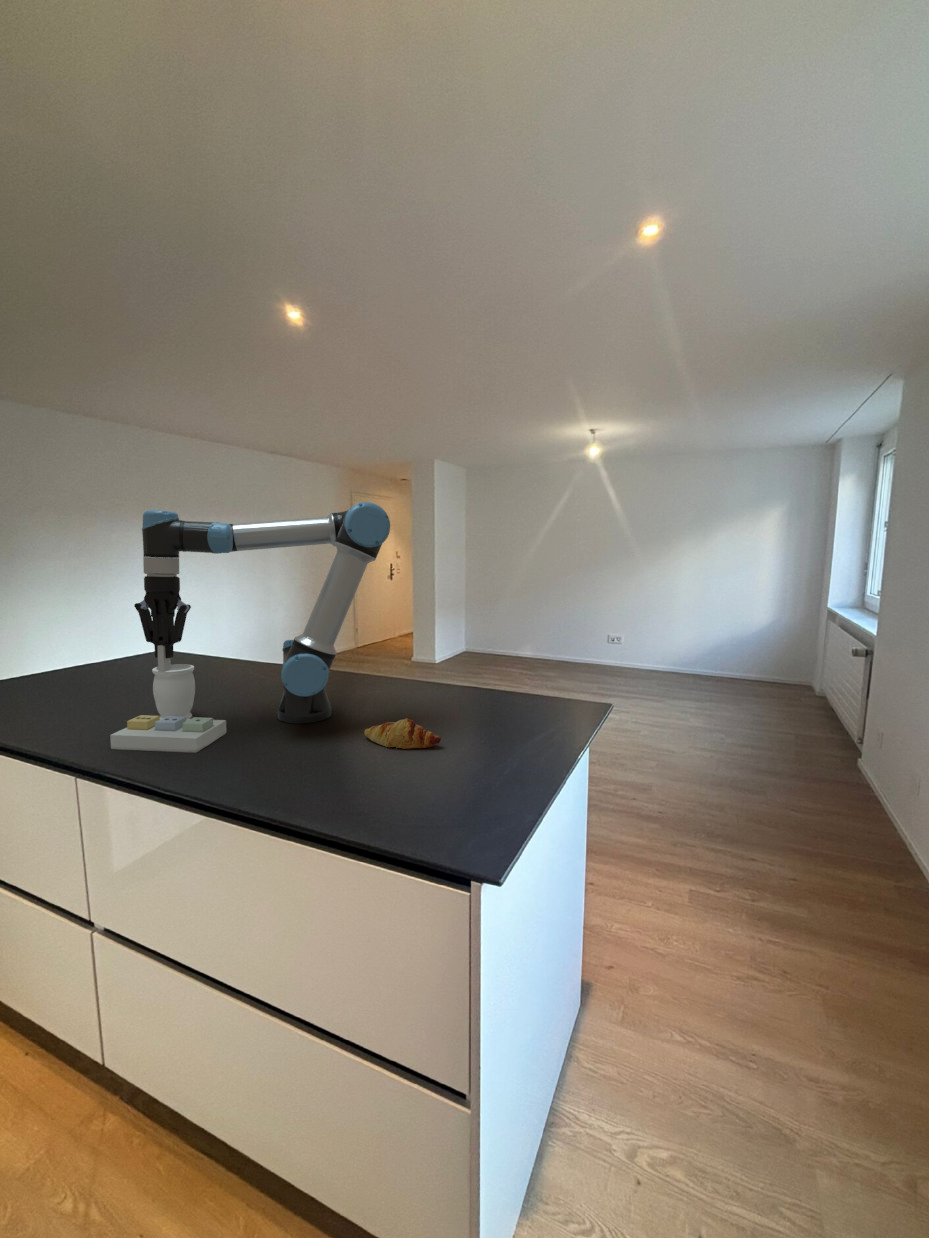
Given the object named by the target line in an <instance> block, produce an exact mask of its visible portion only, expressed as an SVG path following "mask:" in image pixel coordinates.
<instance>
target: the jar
mask: <svg viewBox="0 0 929 1238" xmlns="http://www.w3.org/2000/svg"><path fill="white" fill-rule="evenodd" d="M194 670H195V666H194V665H192V664H185V663H184V664H183V663H181V664H180V663H177V664H176V663H175V664H171V670H169V671H166V672H158V666H156V667H153V668H152V674H153V675H154V677H153V681H152V682H153V683H152V694H153V698H154V702H155V707H156V710H157V712H158V714H159V716H160V718H165V717H167V716H175V717H186V719H192V718H193V714H192V712H191V711H192V709H193V707H194V699H195V694H196V681H195V676H194V673H193V671H194Z"/></svg>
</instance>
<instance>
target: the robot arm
mask: <svg viewBox="0 0 929 1238" xmlns="http://www.w3.org/2000/svg"><path fill="white" fill-rule="evenodd" d="M141 532H142V533H141V535H142V547H143V548H142V549H143V550H142V551H143V557H142V559H143V566H142V567H143V573H144V575H146V576H144V577H143V588H144V591H145V595H144V597H143V600H141V601H140V602H137V603H135V604H134V608H135V610H136V611H137V613H138V616H139V620H140V623H141V626H142V629H143V634H144V638H145V640H146V642H147V643H151V644H152V645H153V647H154V657H155V659H157V667H158V672H166V671H169V670H171V665H172V664H171V663H172V662H171V661H172V660H171V658H174V645H175V644H176V643H177V644H178V643H181V642H182V638H183V635H184V628H185V625H186V620H187V615H188V613H189V612H190V610H191V609H192V605H190V604H186V603H185V602H184V601H182V598H181V596H180V591H181V582H180V581H181V579H180V577H179V576H178V575H179V574H180V552H184V553H185V552H186V553H187V552H188V553H189V552H190V553H206V554H207V553H208V554H215V555H216V554H229V553H232V552H243V551H252V550H253V551H254V550H255V551H256V550H265V549H266V550H267V549H269V550H270V549H277V548H279V549H280V548H291V547H302V546H318V545H327V544H330V545H332V546H333V547H336V554H335V556H334V558H333V560H332V563H331V565H330V568H329V570H328V573H327V575H326V578H325V580H324V582H323V584H322V587H321V589H320V591H319V594H318V596H317V599H316V602H315V604H314V606H313V608H312V610H311V613H310V616H309V618H308V620H307V622H306V625H305V628H304V630H303V632H302V633H301V634H299V635H297V636H294V638H293V639H286V640H284V642H283V643H282V644H283V645H282V652H283V653H282V657H283V659H282V667H281V669H280V670H281V671H280V677H281V681H282V683H283V693H282V696H281V700H280V702H279V705H278V709H277V720H279V721H280V722H283V723H288V724H312V723H317V722H320V721H324V720H326V719H329V718H330V717H331V716H332V705H331V703H330V700H329V697H328V694H327V690H326V685H327V683H328V681H329V678H330V677H329V676H330V670H331V668H332V665H333V663H334V660H335V658H336V656H337V650H336V648H335V646H334V645H335V643H336V642H337V641H336V640H337V638H338V636H339V633H340V631H341V629H342V627H343V624H344V622H345V619H346V617H347V614H348V612H349V610H350V606H351V605H352V602H353V600H354V597H355V595H356V593H357V590H358V588H359V585H360V582H362V578H363V576H364V573H365V571H366V569H367V567H368V564H369V563H372V562H375V561H376V559H377V558H378V554H379V553H380V550H381V548H382V545H383V543H384V542H385V541H386V540H387V539H388V537H389V534H390V532H391V520H390V518H389V515H388V513H387V512H386V511H385V509H384V508H383V507H381V506H380V505H378V504H377V503H373V502H368V501H361V502H358V503H356V504H353V505H352V506H351V507H350V508H349V509H347V510H344V511H340V512H330V513H329V515H328V516H323V517H322V516H321V517H308V518H295V519H283V520H282V519H281V520H265V521H264V520H263V521H252V522H251V521H250V522H238V523H237V522H236V523H226V522H219V521H214V522H213V521H193V520H191V521H190V520H189V521H188V520H181V519H180V517H179V515H178V513H177V512H175V511H170V510H160V509H159V510H157V509H156V510H154V509H148V510H145V511H144V512H143V514H142V528H141ZM176 610H177V611H176ZM174 618H175V619H174Z"/></svg>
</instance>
